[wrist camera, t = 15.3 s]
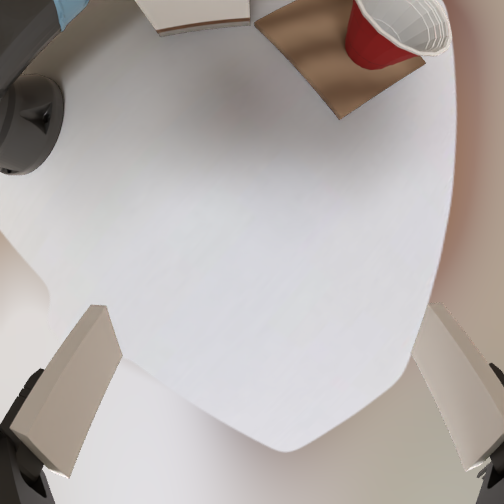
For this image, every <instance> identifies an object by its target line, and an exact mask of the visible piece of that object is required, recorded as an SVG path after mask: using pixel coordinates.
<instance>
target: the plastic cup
mask: <svg viewBox="0 0 504 504" xmlns="http://www.w3.org/2000/svg"><path fill="white" fill-rule="evenodd" d="M451 40H452V33H451V27H450V22H449V20H448V18H447V16H446V14H445V12H444V10H443V8H442V7H441V5H440V4H439V3H438V2H437V0H353V6H352V10H351V14H350V18H349V22H348V26H347V34H346V38H345V49H346V52H347V54H348V56H349V57H350V58H351V60H352V61H353V62H354V63H355V64H357V65H359V66H360V67H362V68H365V69H368V70H378V69H383V68H385V67H387V66H389V65H394V64H396V63H399V62H402V61H404V60H407V59H410V58H412V57H418V56H438V55H440V54H442V53H443V52H445V51H447V50H448V48H449V46H450V43H451Z"/></svg>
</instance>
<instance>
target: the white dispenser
mask: <svg viewBox="0 0 504 504" xmlns="http://www.w3.org/2000/svg"><path fill="white" fill-rule="evenodd" d="M135 2H136V3H137V4H138V6H139V7H140V9H141V10H142V11H143V13H144V14H145V16H146V17H147V19H148V20H149V21H150V23H151V24H152V26H153V27H154V29H155V30H156V31H157V33H158V34H159V36H160V37H163V36H168V35H174V34H179V33H185V32H192V31H198V30H206V29H214V28H224V27H235V26H250V6H249V0H135Z"/></svg>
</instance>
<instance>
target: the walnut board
mask: <svg viewBox="0 0 504 504" xmlns="http://www.w3.org/2000/svg"><path fill="white" fill-rule="evenodd" d="M352 6H353V0H296V1H294V2H292V3H290V4H288V5H286V6H284V7H282V8H280V9H278V10H276V11H274V12H272V13H270V14H268V15H267V16H265V17H263V18H261V19H259V20H258V21H256V22H254V26H255V27H256V28H257V29H258V30H259V31H260V32H261V33H262V34H263V35H264V36H265V37H266V38H267V39H268V40H269V41H270V42H271V43H272V44H273V45H274V46H275V47H276V48H277V49H278V50H279V51H280V52H281V53H282V54H283V55H284V56H285V57H286V58H287V59H288V60H289V61H290V62H291V63H292V64H293V66H294V67H295V68H296V69H297V70H298V71H299V72H300V73H301V74H302V75H303V77H304V78H305V79H306V80H307V81H308V82H309V83H310V85H311V86H312V87H313V88H314V89H315V90H316V92H317V93H318V94H319V95H320V96H321V98H322V99H323V100H324V101H325V102H326V104H327V105H328V106H329V107H330V109H331V110H332V111H333V112H334V114H335V115H336V116H337V118H338V119H339V120H340V119H342V118H343V117H345V116H346V115H348V114H349V113H351V112H352V111H353V110H355V109H356V108H358V107H359V106H361V105H362V104H364V103H365V102H367V101H368V100H370V99H371V98H373V97H374V96H376V95H377V94H379V93H380V92H382V91H383V90H385V89H387V88H388V87H390V86H391V85H393V84H394V83H396V82H397V81H399V80H401V79H402V78H404V77H405V76H407V75H408V74H410V73H412V72H413V71H415V70H416V69H418V68H420V67H421V66H423V65H424V64H426V63H425V61H424V60H423V59H422V57H421V56H418V57H412V58H410V59H407V60H404V61H402V62H399V63H396V64H394V65H389V66H387V67H385V68H383V69H378V70H368V69H365V68H362V67H360V66H359V65H357V64H355V63H354V62H353V61H352V60H351V58H350V57H349V56H348V54H347V52H346V49H345V38H346V34H347V26H348V22H349V18H350V14H351V10H352Z"/></svg>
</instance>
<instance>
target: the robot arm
mask: <svg viewBox="0 0 504 504" xmlns="http://www.w3.org/2000/svg"><path fill="white" fill-rule="evenodd" d="M88 2H89V0H0V172H2V173H4V174H7V175H25V174H28V173H30V172H32V171H34V170H35V169H36V168H38V167H39V166H40V165H41V164H42V163H43V162H44V160H45V159H46V158H47V157H48V155H49V154H50V152H51V150H52V148H53V147H54V145H55V142H56V140H57V138H58V135H59V132H60V128H61V124H62V119H63V98H62V94H61V91H60V89H59V87H58V85H57V84H56V83H55V82H54V81H53V80H51V79H49V78H47V77H45V76H42V75H39V74H29V75H20V74H21V73H22V72H23V71H24V70H25V69H26V67H27V66H28V65H29V64H30V63H31V62H32V61H33V59H34V58H35V57H36V56H37V55H38V54H39V53H40V52H41V51H42V50H43V49H44V48H45V47H46V46H47V45H48V43H49V42H50V41H51V40H52V39H53V38H54V37H55V36H57V35H58V34H59V33H60V32H63V31H64V30H65V28H66V25H67V24H68V23H69V22H71V21H72V20H73V19H74V18H75V17H76V16H77V15H78V14H79V13H80V12H81V11H82V10H83V9H84V8H85V7H86V6H87V4H88ZM411 355H412V357H413V359H414V360H415V362H416V364H417V366H418V368H419V370H420V372H421V374H422V376H423V378H424V380H425V382H426V384H427V386H428V388H429V390H430V392H431V394H432V396H433V398H434V400H435V403H436V405H437V407H438V409H439V411H440V413H441V415H442V418H443V420H444V422H445V424H446V427H447V429H448V431H449V434H450V436H451V438H452V441H453V443H454V445H455V447H456V450H457V452H458V455H459V458H460V460H461V462H462V465H463V468H464V470H465V472H466V471H468V470H471V469H473V468H475V467H477V466H479V465H481V464H482V463H483V462H484V461H485V460H486V459H487V458H488V457H489V456H490V458H491V462H490V463H489V464H488V465H487V466H486V467H485V468H484V469H482V470H481V471H480V472H479V473H478V475H477V478H479V477H480V476H481V475H483V474H484V473H485V472H486V474H485V476H483V478H482V479H484V481H483V484H482V487H481V490H480V493H479V496H478V499H477V502H476V504H504V374H503V373H502V371H501V370H500V369H499V368H497V367H496V366H495V365H494V364H493V363H490V364H488V363H487V361H486V360H485V358H484V357H483V356H482V354H481V353H480V351H479V350H478V349H477V347H476V346H475V344H474V343H473V342H472V340H471V339H470V338H469V336H468V335H467V334H466V332H465V331H464V330H463V328H462V327H461V326H460V325H459V323H458V322H457V321H456V319H455V318H454V317H453V316H452V314H451V313H450V312H449V310H448V309H447V308H446V307H445V306H444V304H443V303H430V304H428V305H427V308H426V311H425V314H424V317H423V320H422V323H421V326H420V329H419V332H418V335H417V338H416V340H415V343H414V346H413V348H412V351H411ZM122 356H123V355H122V352H121V349H120V347H119V344H118V341H117V338H116V335H115V332H114V329H113V326H112V323H111V319H110V316H109V313H108V310H107V306H102V305H90V307H89V308H88V309H87V311H86V312H85V313H84V315H83V316H82V317H81V319H80V320H79V321H78V323H77V324H76V326H75V327H74V328H73V330H72V331H71V332H70V334H69V335H68V337H67V338H66V339H65V341H64V342H63V344H62V345H61V347H60V348H59V349H58V351H57V352H56V354H55V355H54V357H53V358H52V360H51V361H50V363H49V364H48V366H47V367H46V369H45V370H44V369H39V370H38V371H36V372H35V373H34V374H33V375H32V376H31V377H30V378H29V379H28V381H27V382H26V384H25V385H24V389H22V390H21V392H20V393H19V397H17V398H16V399H15V401H14V403H13V404H12V406H11V408H10V410H9V411H8V413H7V414H6V416H5V418H4V419H3V421H2V423H1V424H0V504H55V502H54V499H53V496H52V493H51V491H50V488H49V485H48V482H47V479H46V476H45V474H44V472H43V470H42V468H43V465H45V466H46V467H47V468H48V469H49V470H50V471H52V472H53V473H56V474H58V475H61V476H63V477H66V478H70V476H71V473H72V470H73V468H74V465H75V463H76V460H77V457H78V455H79V452H80V450H81V447H82V445H83V443H84V440H85V438H86V435H87V433H88V431H89V428H90V426H91V423H92V421H93V419H94V417H95V414H96V412H97V410H98V407H99V405H100V403H101V401H102V398H103V396H104V394H105V392H106V390H107V388H108V385H109V383H110V381H111V379H112V377H113V374H114V373H115V371H116V368H117V366H118V364H119V362H120V360H121V358H122Z"/></svg>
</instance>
